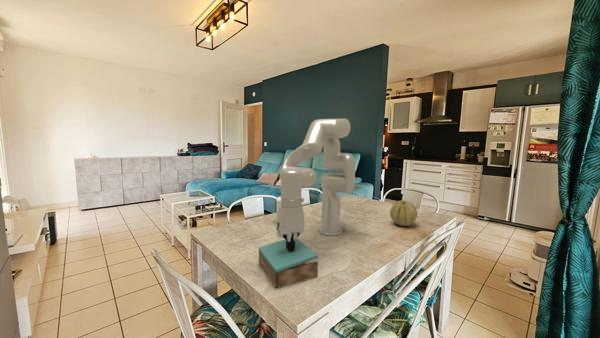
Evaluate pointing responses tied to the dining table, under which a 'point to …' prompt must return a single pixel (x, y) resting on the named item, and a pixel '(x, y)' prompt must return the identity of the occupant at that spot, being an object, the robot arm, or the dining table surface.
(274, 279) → the brown wooden box
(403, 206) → the cantaloupe
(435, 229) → the dining table surface
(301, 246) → the lid
